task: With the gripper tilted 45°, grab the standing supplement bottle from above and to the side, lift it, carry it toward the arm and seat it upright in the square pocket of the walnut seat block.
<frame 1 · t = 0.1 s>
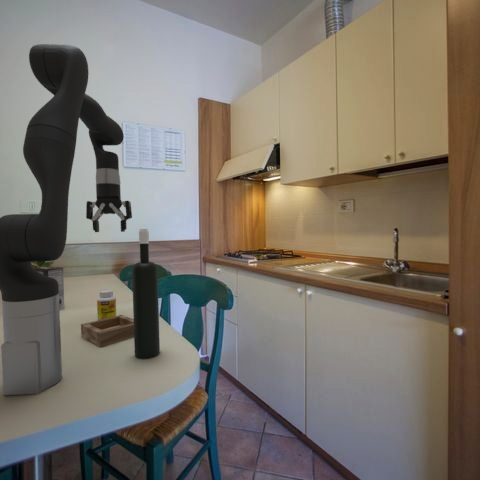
hand: (110, 231, 104), 29 cm above the table, tool pointing down, fingers open, 8 cm apart
supplement bottle: (107, 322, 100), on the table
coffee box: (49, 310, 117), on the table
potted plant: (42, 291, 152), on the table
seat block: (112, 335, 87), on the table
wine bottle: (147, 354, 74), on the table
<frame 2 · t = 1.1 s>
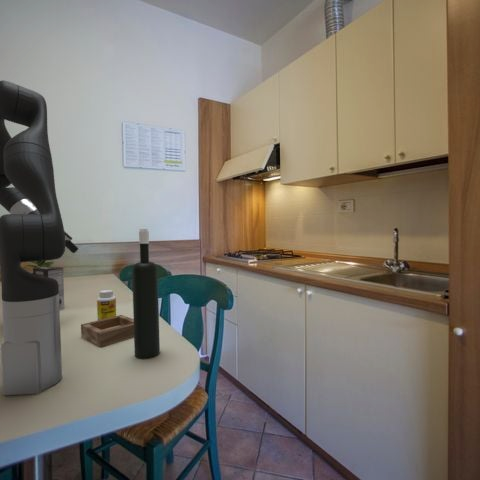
hand: (69, 252, 98), 23 cm above the table, tool tilted 45°, fingers open, 8 cm apart
nothing on the table moved.
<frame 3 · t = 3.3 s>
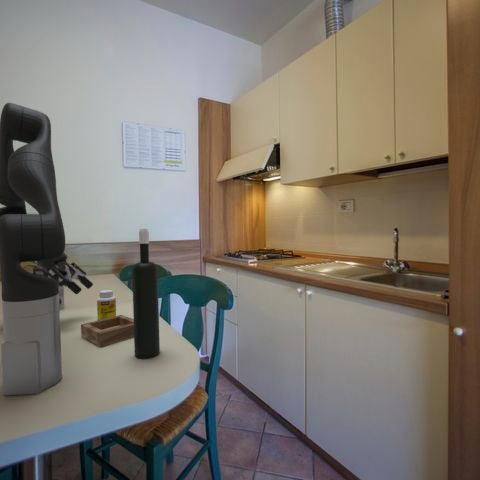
hand: (85, 289, 99), 11 cm above the table, tool tilted 45°, fingers open, 8 cm apart
nothing on the table moved.
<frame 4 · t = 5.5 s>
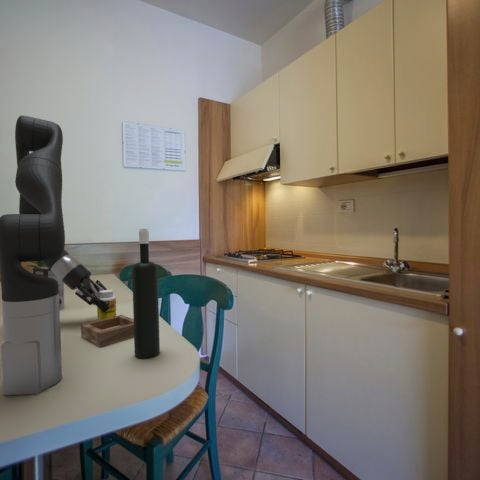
hand: (110, 307, 100), 5 cm above the table, tool tilted 45°, fingers closed on supplement bottle, 5 cm apart
supplement bottle: (107, 322, 100), on the table, touching gripper
everything else where it was.
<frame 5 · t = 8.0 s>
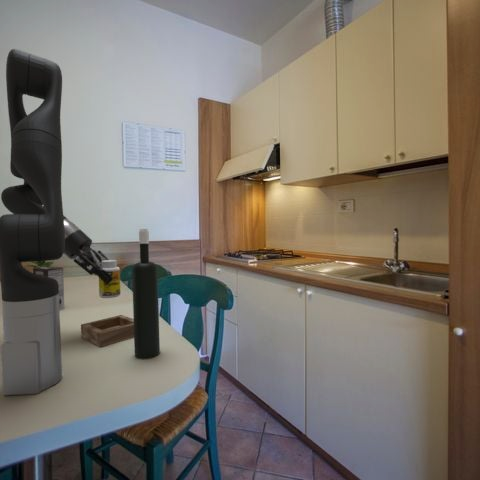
hand: (114, 279, 87), 16 cm above the table, tool tilted 45°, fingers closed on supplement bottle, 5 cm apart
supplement bottle: (110, 297, 87), point 11 cm above the table, touching gripper
everything else where it was.
when the fingers open (7 cm above the table, at t = 10.3 s): supplement bottle drops 1 cm, resting on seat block.
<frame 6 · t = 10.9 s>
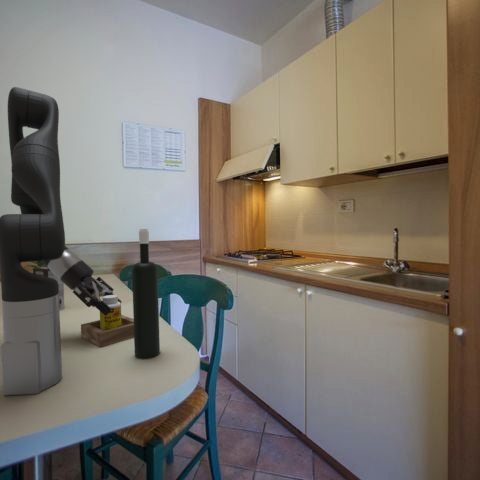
hand: (114, 308, 87), 8 cm above the table, tool tilted 45°, fingers open, 8 cm apart
supplement bottle: (111, 332, 87), point 1 cm above the table, touching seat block
everything else where it was.
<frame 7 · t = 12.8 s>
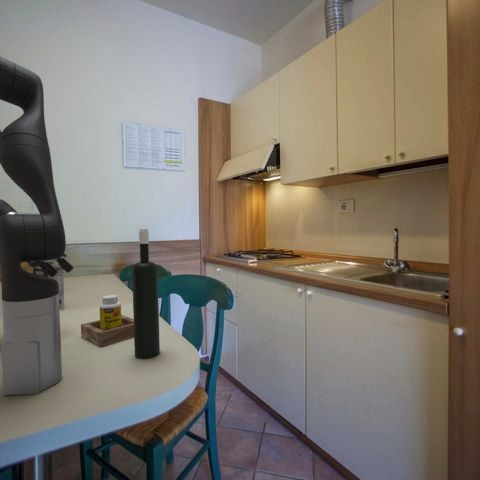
hand: (63, 272, 86), 18 cm above the table, tool tilted 45°, fingers open, 8 cm apart
nothing on the table moved.
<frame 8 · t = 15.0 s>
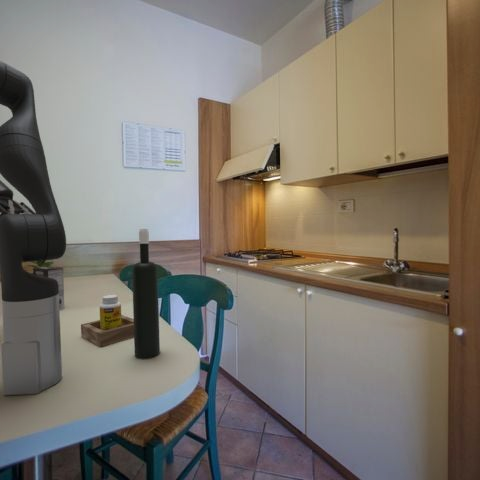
hand: (32, 228, 88), 31 cm above the table, tool tilted 45°, fingers open, 8 cm apart
nothing on the table moved.
at the end: supplement bottle 0.2 cm from the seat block (horizontally); supplement bottle tilted 0°; the gripper is holding nothing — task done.
